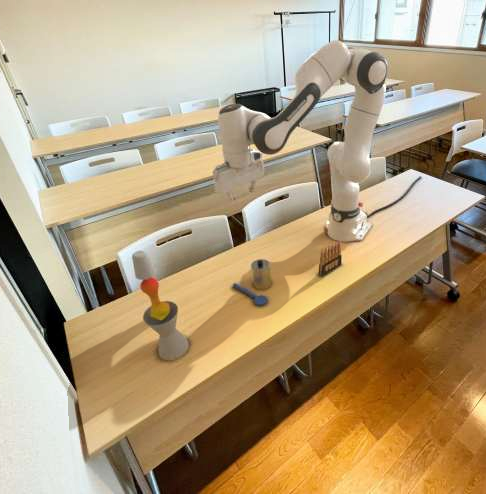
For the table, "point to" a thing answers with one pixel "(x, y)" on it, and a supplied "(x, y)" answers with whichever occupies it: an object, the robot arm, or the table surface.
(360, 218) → the robot arm
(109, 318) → the table surface
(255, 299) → the spoon
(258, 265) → the pot
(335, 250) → the ammunition clip
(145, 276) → the lava lamp
